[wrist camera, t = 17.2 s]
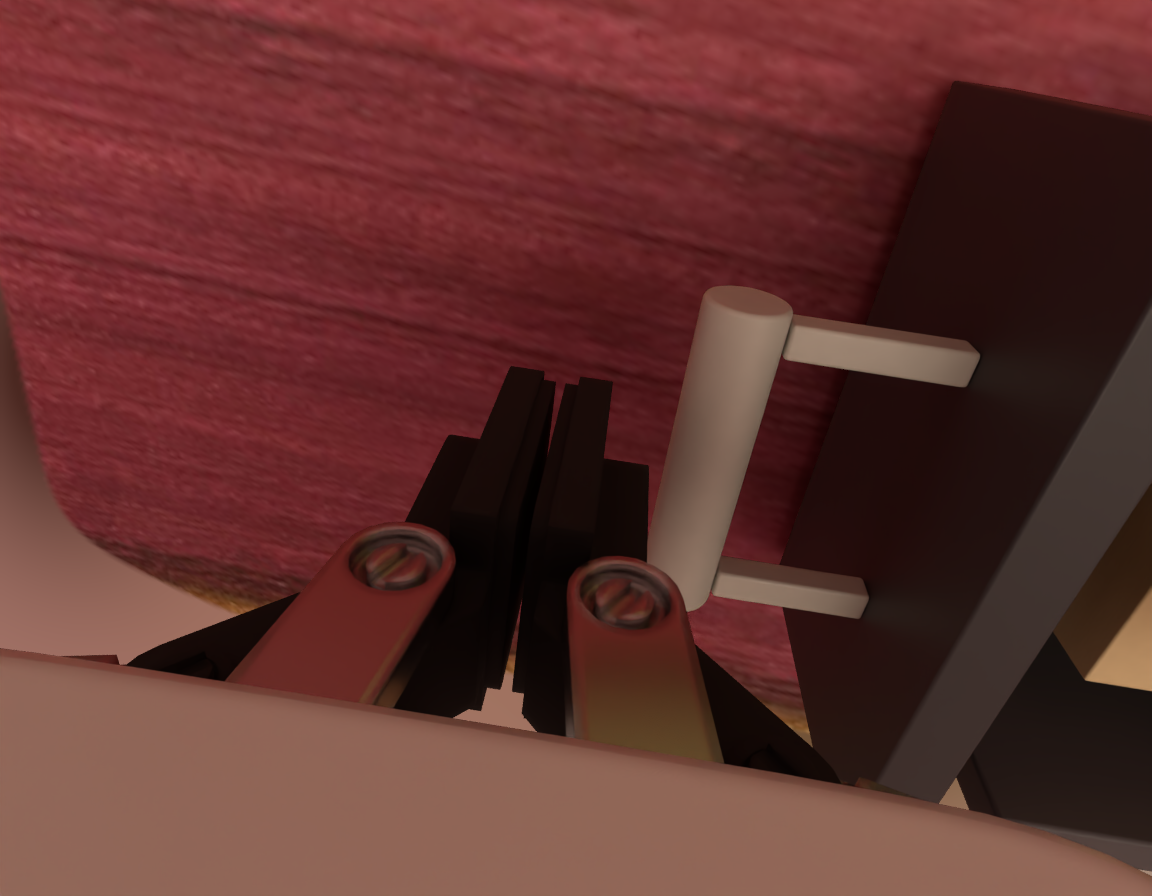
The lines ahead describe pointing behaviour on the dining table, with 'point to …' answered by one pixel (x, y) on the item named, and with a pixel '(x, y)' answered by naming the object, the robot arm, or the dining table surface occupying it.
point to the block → (1116, 609)
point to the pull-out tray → (956, 473)
